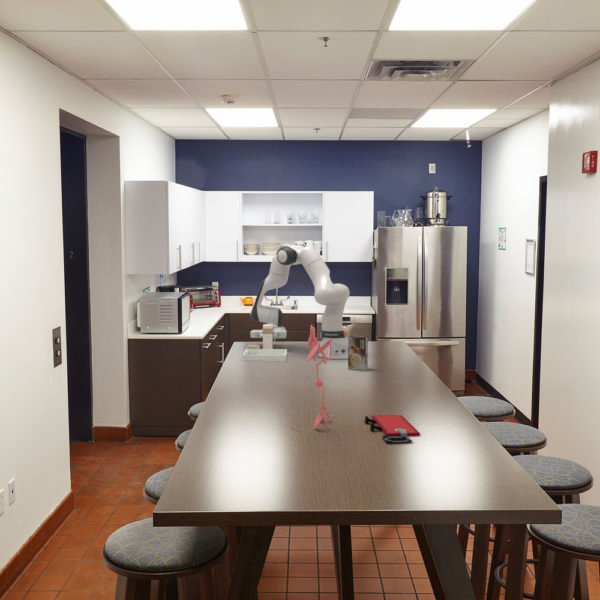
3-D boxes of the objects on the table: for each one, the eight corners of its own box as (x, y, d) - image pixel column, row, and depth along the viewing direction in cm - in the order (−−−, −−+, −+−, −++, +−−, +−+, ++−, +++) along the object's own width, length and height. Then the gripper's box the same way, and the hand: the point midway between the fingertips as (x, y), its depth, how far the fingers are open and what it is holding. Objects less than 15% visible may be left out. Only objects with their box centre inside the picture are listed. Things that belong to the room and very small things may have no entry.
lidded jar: (260, 357, 345) (260, 344, 345) (259, 359, 339) (259, 346, 338) (248, 357, 345) (248, 344, 345) (246, 359, 339) (246, 346, 338)
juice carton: (272, 349, 363) (272, 324, 362) (272, 351, 358) (272, 325, 357) (263, 349, 363) (263, 324, 362) (262, 351, 358) (262, 325, 357)
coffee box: (368, 367, 325) (368, 335, 324) (365, 370, 319) (366, 337, 317) (350, 366, 328) (350, 334, 326) (347, 369, 322) (347, 336, 320)
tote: (287, 356, 353) (287, 349, 353) (285, 363, 335) (285, 355, 335) (246, 356, 353) (246, 348, 353) (242, 362, 335) (242, 355, 335)
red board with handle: (380, 444, 208) (426, 444, 210) (381, 436, 208) (427, 435, 210) (361, 419, 238) (401, 419, 240) (361, 411, 238) (401, 411, 239)
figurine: (335, 414, 241) (334, 320, 238) (329, 436, 216) (328, 331, 212) (294, 413, 243) (292, 320, 240) (283, 435, 218) (281, 330, 214)
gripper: (251, 326, 373) (248, 330, 359) (287, 326, 372) (286, 330, 359) (251, 337, 373) (248, 341, 360) (287, 337, 373) (286, 341, 359)
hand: (267, 336), depth 359 cm, fingers closed on juice carton, 5 cm apart
